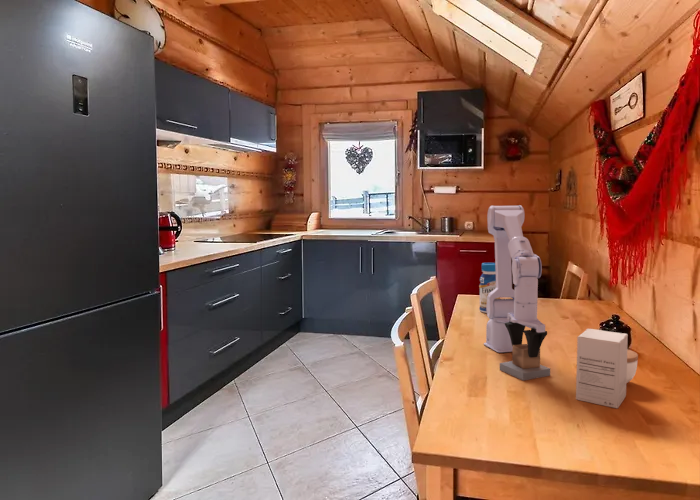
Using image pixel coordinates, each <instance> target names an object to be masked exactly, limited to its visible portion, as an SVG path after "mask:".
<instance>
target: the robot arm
mask: <svg viewBox="0 0 700 500" xmlns="http://www.w3.org/2000/svg"><path fill="white" fill-rule="evenodd" d="M486 219H487V231H488V234H490V235H492V236H493V240H494V259H495V261H494V263H495V268H496V288H495V289H494V290H493V291H491V292H490V293H489V294H488V296H487V304H486V312H487V313H486V316H487V318H488V319H489V320H488V321H487V323H486V325H485V326H486V327H485V328H486V329H485V330H486V331H485V332H486V334H485V335H486V337H485V339H486V340H485V341H486V342H484V343H483V345H484V346H485V347H488V348H489V349H491V350H493V351H495V352H497V353H510V352H512V350H513V345H520V344H523V337H524V336H525V339H526V344H527V345H528V355H529V357H530V358H532V357H537V356H538V353H539V350H540V351H541V346H542V344H543V341H544V340H545V338H546V337H547V336H548V331H546V324H544V323H543V322H541V320H539V318H538V295H539V294H538V292H539V291H538V289H539V288H538V287H539V286H538V285H539V280H538V279H540V278H541V276H542V271H543V269H542V268H543V267H542V260H541V258H540V256H538V255H537V254H535V253H534V252H533V248H532V246H531V243H530V240H529V239H528V238H527V237H525V236H524V234H523V229H522V227H523V224H524V222H525V209H524V207H523V206H522V205H520V204H519V205H490V206H489V207H488V210H487V216H486ZM513 284H514V289H513ZM498 297H500V299H495V298H498ZM526 327H527V328H529V329H526ZM525 329H526V330H525Z"/></svg>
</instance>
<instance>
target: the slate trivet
mask: <svg viewBox="0 0 700 500" xmlns="http://www.w3.org/2000/svg"><path fill="white" fill-rule="evenodd" d="M499 371H501V372H503V373H506V374H507V375H510V376H512V377H514V378H516V379H519V380H520V381H528V380H534V379H538V378H544V377H549V376H551V368H550V367H547V366H545V365H542V364H540V367H537V368H528V369H522V368H520V367H518V366H516V365H515V364H513V363H512V360H510V361H504V362H499Z"/></svg>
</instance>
